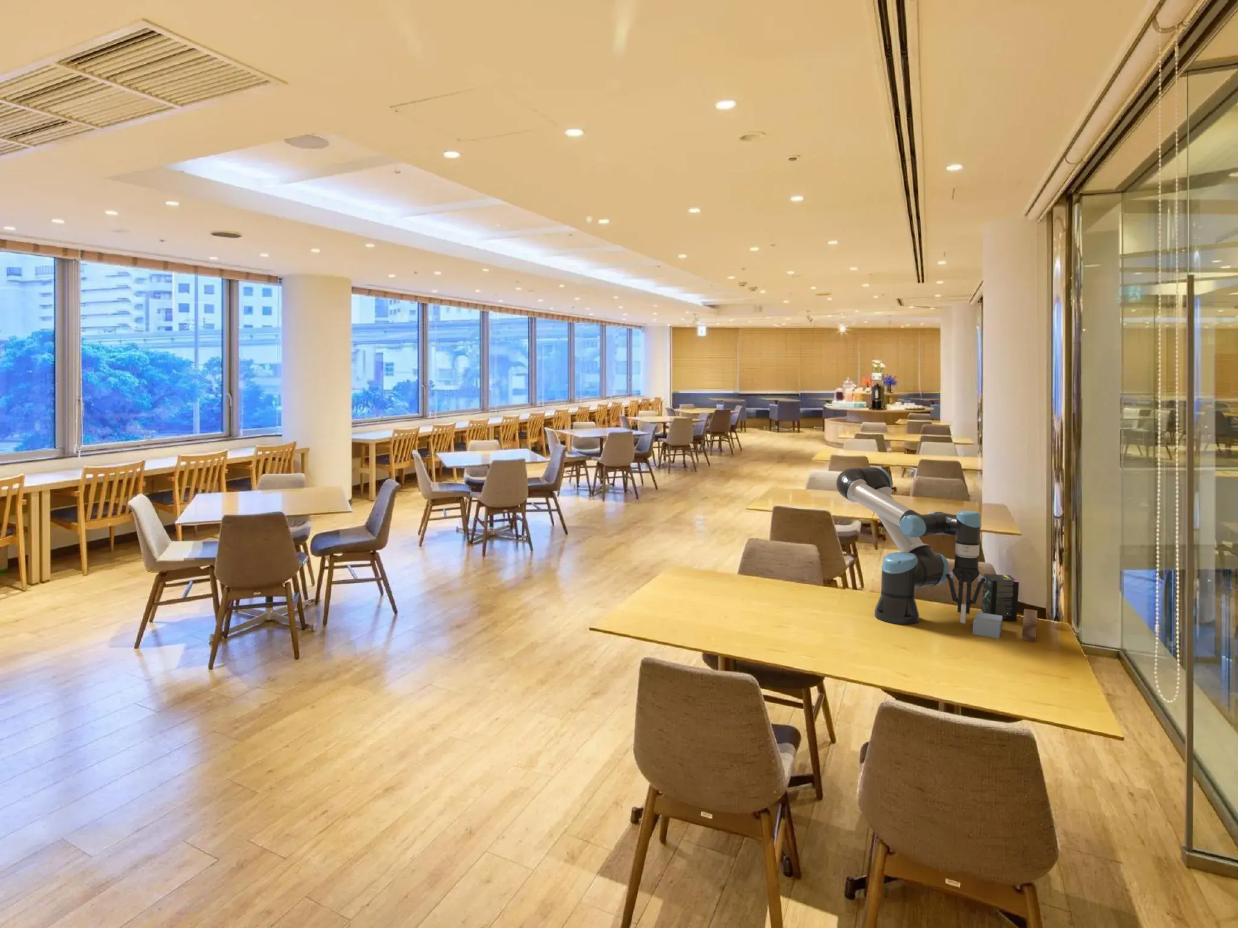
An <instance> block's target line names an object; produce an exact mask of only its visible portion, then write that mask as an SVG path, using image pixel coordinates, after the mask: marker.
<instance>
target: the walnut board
mask: <svg viewBox="0 0 1238 928" xmlns="http://www.w3.org/2000/svg"><path fill="white" fill-rule="evenodd" d="M1037 624H1038V610H1035V609H1030V608H1029V609H1028V608H1024V609H1023V619H1022V631H1021V640H1023V641H1028V642H1034V643H1035V642H1036V640H1037V626H1038V625H1037Z"/></svg>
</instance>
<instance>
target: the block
mask: <svg viewBox="0 0 1238 928" xmlns="http://www.w3.org/2000/svg"><path fill="white" fill-rule="evenodd" d="M1002 617H1003V616H1000V615H993V614H987V613H983V612H980V611H977V612H976V614H975V616H974V618H973V622H972V623H973V624H972V635H974V636H975V635H976V636H982V637H986V638H987V637H988V638H993V639H1000V636H1001V633H1002V629H1003V620H1002Z"/></svg>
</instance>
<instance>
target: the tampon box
mask: <svg viewBox="0 0 1238 928" xmlns="http://www.w3.org/2000/svg"><path fill="white" fill-rule="evenodd" d="M983 574H984V575H983V577H986V580H985V582H984V583H983V584H982V586H983V587H982V600H981V601H982V602H981V613H987V614H993V615H1000V616H1003V617H1002V621H1010V620H1011V622H1012V621H1013V622H1016V621H1018V606H1019V605H1018V604H1019V603H1018V602H1019V601H1018V600H1019V590H1020V589H1019V588H1020V582H1019V581H1018V580H1016V579H1015V578H1014V577H1012V576H1011V575H1006V574H996V573H995V574H990V573H983ZM1007 613H1008V614H1007Z"/></svg>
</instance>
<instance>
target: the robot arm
mask: <svg viewBox="0 0 1238 928" xmlns="http://www.w3.org/2000/svg"><path fill="white" fill-rule="evenodd" d="M892 481H893V480H892V477H891V475H890V474H889V472H888V471H887V470H886V469H884V468H881V467H875V466H869V467H851V468H847V469H844V470H843V471H841V472H840V473H839V475H838V476H837V478H836V489H837V492H838V493H839V495H841V496H842V497H843V498H845V499H846V500H848V501H849V502H851V503H858V504H860V505H862V506H863V507H865V508H867V509H868V510H870V511H872V512H874V513H875V514H876V516H877V517H878V519H879V520H880V522H881V524H882V525H883V526H884V528H885V530H886V531H887V533H888V534H889V536H890V538H891V539H892V541H893V542H894V544H895V546H896V547H897V549H898V550H899V551H896V552H894V551H893V552H890V553H887V554H886V555H884V556H883V560H882V565H881V583H880V584H881V585H880V596H879V598H878V601H877V604H876V606H875V608H874V617H875V618H876V619H878V620H880V621H883V622H886V623H890V624H896V625H897V624H898V625H899V624H900V625H912V624H913V625H914V624H916V623H919V621H920V613H919V609H918V606H917V601H916V590H917V588H918V589H920V588H925V587H935V586H939V585H942V584H943V583H944V582H945V581H947V582H948V584H949V589H950V594H951V600H952V601H953V602H955V603H957V613H960V620H959V621H960V623H961V624H966V622H967V621H966V620H967V614H968V615H969V614H970V612H971V605H976V602H977V601H978V597H979V594H980V592H981V589H982V586H983V585H984V582H985V580H986V577H984V575H981V574H980V573H981V572H980V571H979V563H980V560H979V557H978V556H979V555H980V545H981V544H980V540H981V539H980V538H981V528H982V519H981V518H982V517H981V514H980V512H978V511H975V510H959V511H957V513H956V514H952V513H947V512H943V511H931V512H929V513H927V514H926V513H925V514H921V513H918V512H917V511H915V510H913V509H911V508H909V507H907V506H906V505H904V504H903V503H900V502H899V501H897V500H895V499H894V498H893V496H892V493H893V489H892V487H893V483H892ZM937 535H938V536H939V535H947V536H951V537H955V548H954V553H955V555H954V563H953V566H954V567H953V568H952V571H950V565H949V562H948V559H947V557H945V556H944V555H943V554H942V553H938V552H934V550H933V548H932V546H930V544H928V543H924V542H923V541H922V540H921V538H920V537H926V536H937ZM949 571H950V572H949ZM954 576H955V578H956V579H957V581H958V593H957V591H956V587H955V583H954ZM976 579H977V581H978V583H977V586H976V588H975V589H976V590H975V592H974V594H973V596H972V583H973V582H974V581H975V580H976ZM964 583H966V597H965V602H963V596H964Z"/></svg>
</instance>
